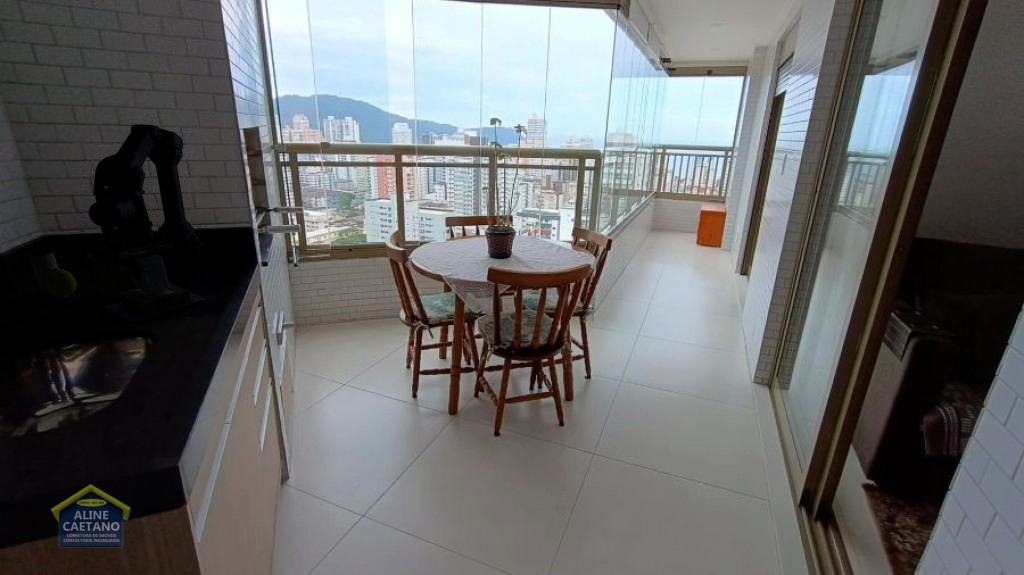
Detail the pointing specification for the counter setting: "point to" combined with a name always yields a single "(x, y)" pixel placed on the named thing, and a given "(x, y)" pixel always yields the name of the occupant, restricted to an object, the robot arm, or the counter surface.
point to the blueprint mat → (135, 316)
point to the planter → (42, 266)
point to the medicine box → (150, 272)
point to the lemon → (60, 283)
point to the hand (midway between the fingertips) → (150, 280)
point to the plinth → (154, 299)
